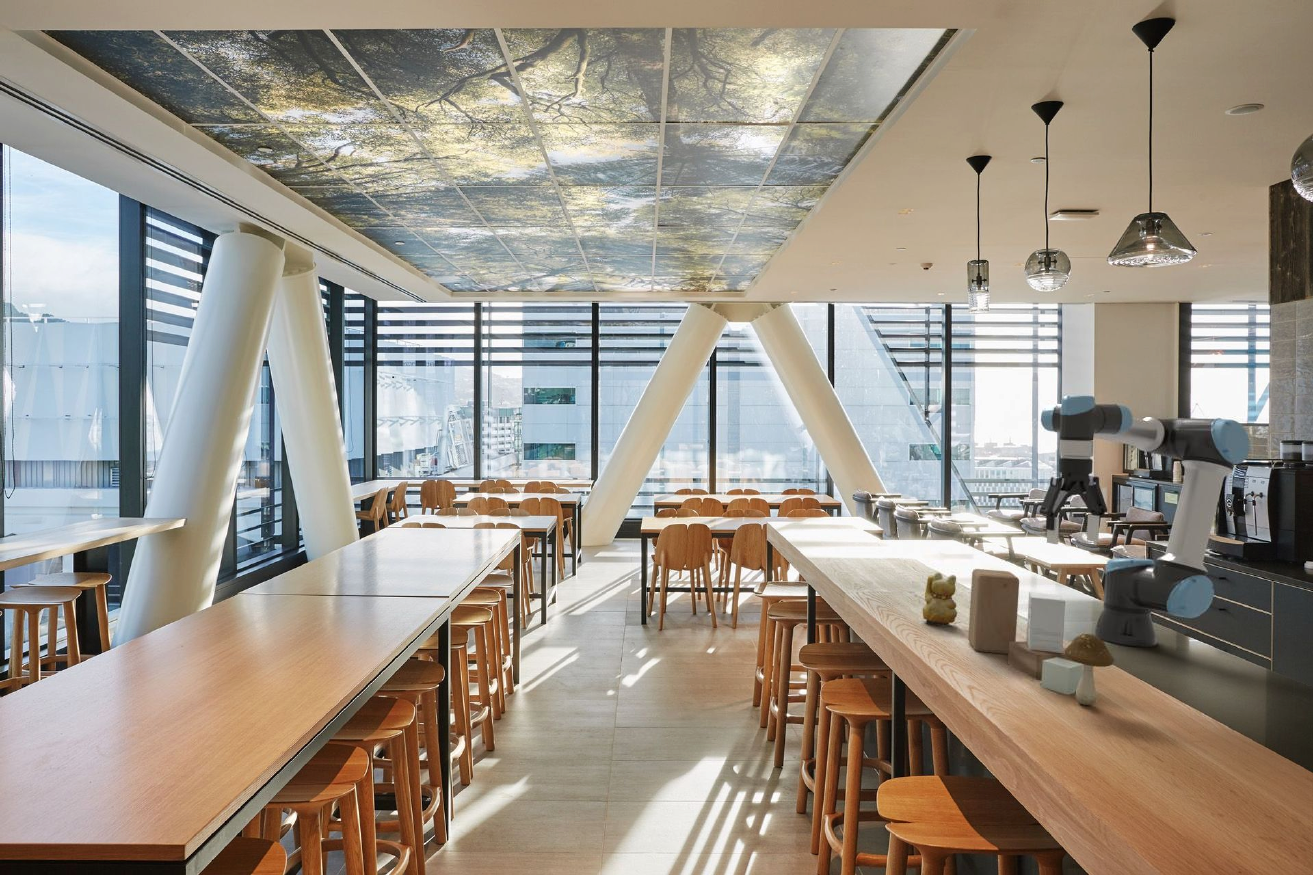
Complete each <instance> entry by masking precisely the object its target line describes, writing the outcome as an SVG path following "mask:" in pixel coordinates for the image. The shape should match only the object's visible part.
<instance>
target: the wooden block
mask: <svg viewBox="0 0 1313 875" xmlns="http://www.w3.org/2000/svg"><path fill="white" fill-rule="evenodd" d="M970 590H971V591H970V602H969V604H970V605H969V620H968V622H969V623H968V633H967V636H968V637H967V638H968V641H969V644H970V645H971V646H972V648H973V649H974V650H975V651H977V652H983V653H991V654H1001V655H1002V654H1003V655H1009V644H1010V641H1012V642H1017V641H1016V640H1017V626H1018V625H1017V624H1018V610H1019V594H1020V593H1019V592H1020V591H1019V590H1020V579H1019V577H1018V576H1016V575H1015V574H1014V573H1012V572H1010V571H1005V570H995V569H985V568H983V569H982V568H975V569H973V571H972V572H971V588H970Z"/></svg>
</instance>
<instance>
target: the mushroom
mask: <svg viewBox="0 0 1313 875" xmlns="http://www.w3.org/2000/svg"><path fill="white" fill-rule="evenodd" d="M1065 648H1066V649H1065V651H1064V652H1065V655H1066V657H1067V658H1069V659H1071V660H1073V661H1075V662H1077V663H1080V664H1083V674H1082V677H1081V680H1080V682H1079V685H1078V688H1077V690H1076V693H1075V699H1076V702H1078V704H1081V705H1084V706H1092V705H1094V704H1095V702H1096V700H1097V692H1096V685H1095V677H1094V667H1098V668H1102V667H1103V668H1106V667H1111V666H1112V665H1113V664H1114V662H1115V659H1114V657H1113V655H1112V654H1111V652H1110V650H1108V648H1107V646H1106V644H1105V642H1104V640H1103V639H1100V638H1098V637H1097V636H1095V634H1092V633H1091V634H1090V633H1084V634H1083V633H1082V634H1080V635H1078V636H1076V637H1075V638H1074V639H1073V640H1072V642H1071V643H1070V644H1069V645H1068V646H1067V647H1065Z"/></svg>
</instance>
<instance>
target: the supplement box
mask: <svg viewBox="0 0 1313 875" xmlns="http://www.w3.org/2000/svg"><path fill="white" fill-rule="evenodd" d="M1027 603H1028V604H1027V605H1028V607H1027V623H1026V624H1027V626H1026V638H1025V639H1026V641H1025V642H1027V644H1028V647H1029V649H1030V650H1038V651H1046V652H1055V653H1062V652H1063V648H1064V632H1065V616H1066V613H1065V612H1066V600H1065V598H1064V597H1063V596H1062V595H1061V594H1055V593H1054V594H1053V593H1044V592H1043V593H1042V592H1033V591H1028V602H1027Z"/></svg>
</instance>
